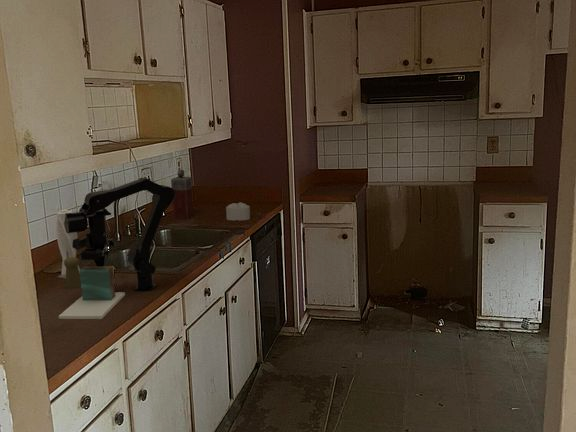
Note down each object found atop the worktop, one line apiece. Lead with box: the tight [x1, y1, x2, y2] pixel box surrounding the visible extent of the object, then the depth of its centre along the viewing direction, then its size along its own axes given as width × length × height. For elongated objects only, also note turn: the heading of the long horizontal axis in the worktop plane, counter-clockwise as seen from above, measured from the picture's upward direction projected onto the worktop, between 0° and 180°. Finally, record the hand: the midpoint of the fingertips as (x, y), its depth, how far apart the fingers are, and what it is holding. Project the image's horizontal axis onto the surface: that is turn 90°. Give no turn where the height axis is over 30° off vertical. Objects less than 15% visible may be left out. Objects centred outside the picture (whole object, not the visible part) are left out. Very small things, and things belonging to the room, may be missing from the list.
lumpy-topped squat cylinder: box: [225, 202, 251, 222], centre depth 324 cm, size 10×13×9 cm
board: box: [58, 291, 126, 320], centre depth 193 cm, size 22×14×1 cm, turn 177°
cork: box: [64, 257, 81, 290], centre depth 213 cm, size 6×6×11 cm
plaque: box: [80, 265, 116, 300], centre depth 196 cm, size 4×10×11 cm, turn 87°
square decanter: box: [170, 169, 195, 220], centre depth 328 cm, size 9×11×28 cm
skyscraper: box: [55, 205, 81, 280], centre depth 225 cm, size 8×8×28 cm
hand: (101, 272), depth 200 cm, fingers closed
